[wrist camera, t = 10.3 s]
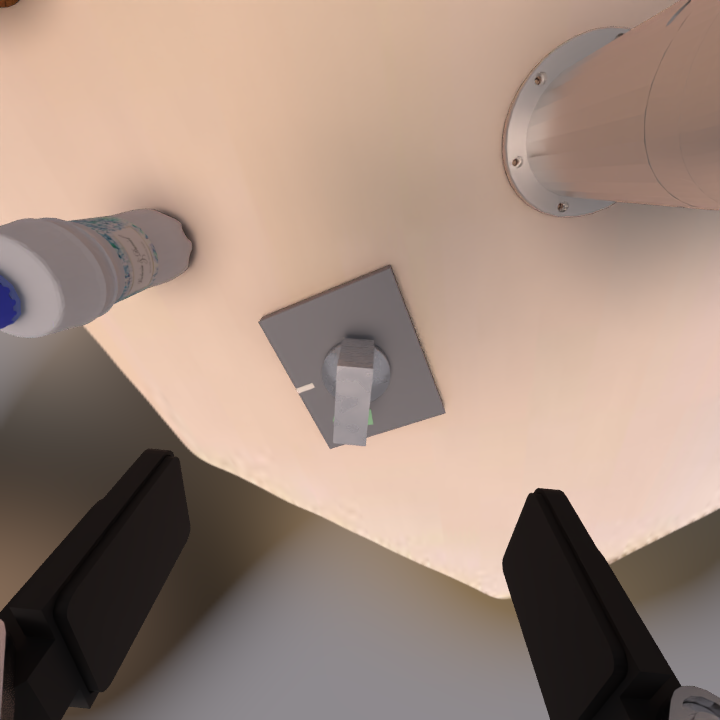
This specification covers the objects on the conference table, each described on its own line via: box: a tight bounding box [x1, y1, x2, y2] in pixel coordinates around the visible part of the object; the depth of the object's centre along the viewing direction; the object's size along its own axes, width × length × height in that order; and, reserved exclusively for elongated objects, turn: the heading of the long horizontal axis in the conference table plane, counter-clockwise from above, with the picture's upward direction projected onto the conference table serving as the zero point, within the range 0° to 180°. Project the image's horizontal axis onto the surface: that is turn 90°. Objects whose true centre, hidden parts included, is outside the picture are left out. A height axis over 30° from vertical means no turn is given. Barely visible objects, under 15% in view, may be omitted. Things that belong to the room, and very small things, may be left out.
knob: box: [322, 338, 390, 446], centre depth 36 cm, size 7×10×7 cm, turn 176°
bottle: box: [0, 209, 192, 338], centre depth 26 cm, size 7×7×20 cm
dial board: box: [259, 265, 445, 449], centre depth 39 cm, size 14×17×2 cm
